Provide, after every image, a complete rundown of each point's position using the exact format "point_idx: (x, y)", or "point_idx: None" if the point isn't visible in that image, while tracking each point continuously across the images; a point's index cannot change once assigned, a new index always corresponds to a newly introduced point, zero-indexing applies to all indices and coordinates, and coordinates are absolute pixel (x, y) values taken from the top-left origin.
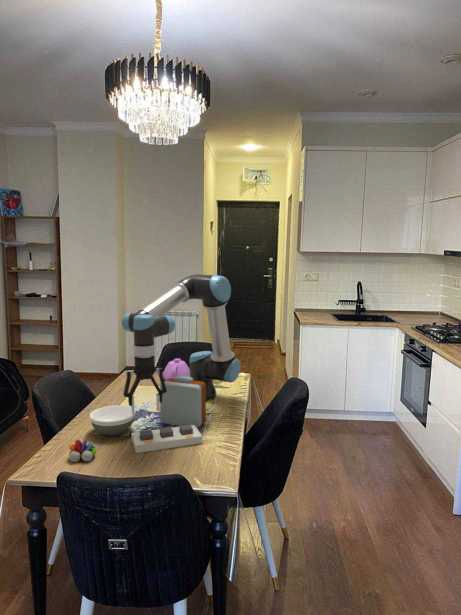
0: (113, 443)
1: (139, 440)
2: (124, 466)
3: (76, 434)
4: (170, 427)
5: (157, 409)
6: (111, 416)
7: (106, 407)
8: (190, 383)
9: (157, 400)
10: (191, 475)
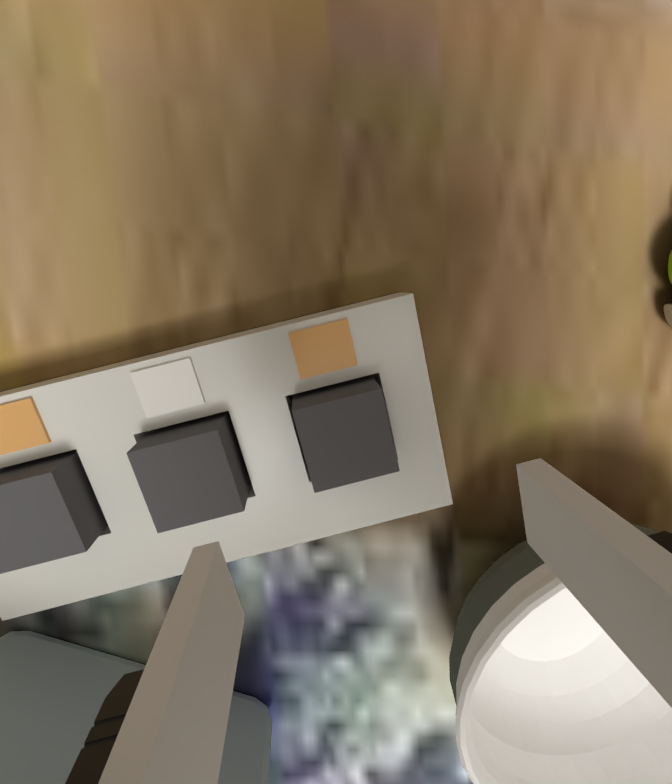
0: (543, 444)
1: (390, 381)
2: (465, 93)
3: None
4: (158, 525)
5: (221, 574)
6: (590, 733)
7: None
8: None
9: (182, 684)
10: None
